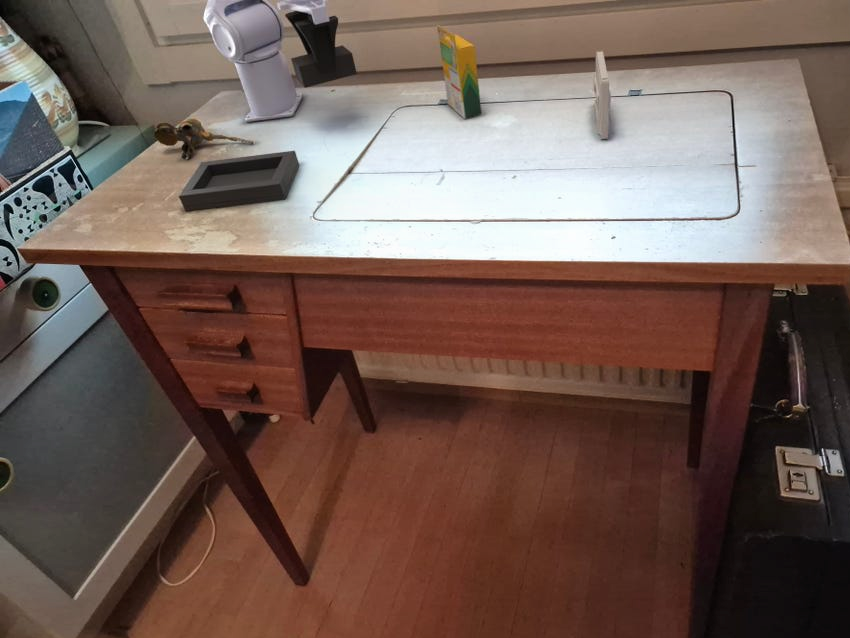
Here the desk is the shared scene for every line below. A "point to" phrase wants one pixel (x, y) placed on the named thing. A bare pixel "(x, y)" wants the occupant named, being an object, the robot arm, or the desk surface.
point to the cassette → (602, 96)
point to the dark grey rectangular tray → (240, 181)
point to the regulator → (187, 136)
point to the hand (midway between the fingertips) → (323, 66)
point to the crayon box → (460, 74)
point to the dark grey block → (311, 73)
